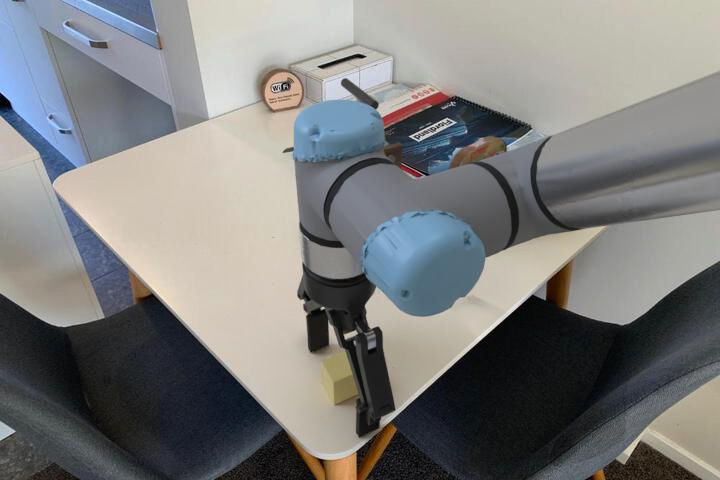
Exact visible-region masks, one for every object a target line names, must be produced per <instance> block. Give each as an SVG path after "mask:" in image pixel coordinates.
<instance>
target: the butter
mask: <svg viewBox="0 0 720 480" xmlns="http://www.w3.org/2000/svg"><path fill="white" fill-rule="evenodd" d="M320 375H321V385H322V386H323V388H324V390H325V392H326V393H327V395H328V397H329V399H330V400H331V402H332V404H333V405H334V406H336V405H337V404H340V403H342V402H344V401H347V400H349V399H351V398H354V397H355V396H359V394H358V390H357V387H356V384H355V381H354V377H353V374H352V371H351V368H350V364H349V361H348V358H347V355H346V352H345V350H344V351H341V352H338V353H336V354H334V355H331V356H328V357H326V358H324V359H321V360H320Z"/></svg>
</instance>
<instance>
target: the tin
mask: <svg viewBox="0 0 720 480" xmlns="http://www.w3.org/2000/svg"><path fill="white" fill-rule="evenodd" d="M507 151H508V148H507V142H506V141H505V139H504V138H499V137H497V136H494V135H488V136H485V137H483V138H481V139H478V140H477V141H475V142H473V143H471V144H468V145H467V146H465V147H463V148H461V149H460V150H458V151H457V152H456V153H455V155H454V156H453V157H452V159H451V161H450V163H449V166H448V170H449V169H452V168H456V167H459V166H463V165H465V164H469V163H472V162H477V161H480V160H483V159H486V158H489V157H492V156H495V155H498V154H501V153H504V152H507Z"/></svg>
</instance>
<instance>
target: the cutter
mask: <svg viewBox="0 0 720 480" xmlns="http://www.w3.org/2000/svg"><path fill="white" fill-rule="evenodd" d="M340 86H341V87H342V88H343V89H344V90H346V91H348V93H350V94H351V95H352V96H353V97H355V99H356V101H358V102H361V103H364V104H367V105H369V106H371V107H373V108H374V109H376V110H377V109H378V108H379V106H380V104H379V102H378V101H377V100H376V99H375V98H373V97H372V96H371V95H370V94H368V93H367V92H366V91H364V90H363V89H362V88H361V87H359V86H358V85H357V84H355V83H354V82H352V81H351V80H350V79H348V78H346V77H345V78H342V79H341V81H340ZM387 145H390V142H389V143H388V142H385V144H384V146H387Z"/></svg>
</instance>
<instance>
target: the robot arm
mask: <svg viewBox="0 0 720 480" xmlns="http://www.w3.org/2000/svg"><path fill="white" fill-rule="evenodd" d="M384 132H385V123H384V119H383V117H382V115H381V113H380V112H379V111H378V110H377V109H374V108H373V107H371V106H369V105H367V104H364V103H361V102H358V101H357V100H353V99H330V100H325V101H320V102H316V103H313V104H310V105H309V106H307V107H305V108H303V110H301V111H300V112H299V113H298V115H297V116H296V118H295V120H294V122H293V147H294V151H293V152H292V156H291V157H292V160H294V175H295V186H296V196H297V197H296V199H297V209H298V219H299V221H298V233H299V235H298V236H299V247H300V249H299V250H300V258H301V260H302V263H301V265H302V276H301V279H300V282H299V284H298V289H297V291H296V296H297V298H298V299H299V301H304V303H303V304H302V308H303V309H302V310H303V311H304V313H306V315H305V320H306V321H305V322H306V335H307V348H308V351H309V353H310V354H311V353H315V352H317V351H318V350H319V351H320V350H321V349H324V348H326V347H330V329H329V328H330V327H329V325H330V326H332V327H333V331H334V334H335V335H334V336H335V337H336V341H337V344H338V347H339V348H341V349H343V350H344V351H345V352H346V355H347V358H348V361H349V364H350V368H351V371H352V374H353V377H354V381H355V384H356V387H357V390H358V396H359V397H358V398H357V399H356V403H355V404H356V405H355V410H356V411H355V417H356V418H355V433H356V435H357V437H358V438H361V437H364V436H366V435H369V434H370V433H372V432H375V431H376V430H378V429H380V427H381V426H380V425H381V420H382V418H383V417H385V416H387V415H389V414H391V413H394V412H396V410H397V409H396V404H395V399H394V395H393V390H392V389H393V388H392V383H391V380H390V376H389V370H388V365H387V360H386V356H385V351H384V334H383V330H382V329H381V327H380V326H379V325H378V326H377V325H376V326H374V327H372V328H371V327H370V325H369V322H368V318H367V308H366V305H367V303H369V301H370V299H371V298H372V296H374V294H375V291H376V289H378V290H380V291H381V292H382V293H383V294H384V295H385V297H387V298H388V300H389V301H390V302H391V303H392V304H393V305H394V306H395V307H396V308H397V309H398V310H400V311H401V312H403V313H404V314H406V315H409V316H413V317H418V318H425V317H433V316H436V315H439V314H441V313H442V314H443V312H445V311H448V310H450V309H452V308H453V306H454V304H455V303H456V302H457V301H458V300H459V299H460V298H465V297H466V296H467V295H469V294H470V292H471V291H472V290H473V289H474V287H475V286H476V285H477V283H478V282H479V280H480V278H481V276H482V274H483V271H484V268H485V265H486V259H487V258H489V257H492V256H494V255H497V254H498V253H501V252H504V251H506V250H508V249H509V248H513V247H514V246H517V245H518V246H519V245H520V244H523V243H527V242H529V241H531V240H534V239H538V238H540V237H545V236H550V235H556V234H563V233H570V232H576V231H582V230H585V229H592V228H600V227H606V226H615V225H622V224H629V223H637V222H644V221H650V220H651V221H653V220H657V219H666V218H673V217H679V216H687V215H694V214H702V213H710V212H716V211H720V70H717V71H715V72H712V73H709V74H707V75H703V76H702V77H699V78H696V79H694V80H691V81H688V82H686V83H683V84H681V85H678V86H676V87H673V88H670V89H668V90H666V91H662V92H660V93H658V94H656V95H652V96H650V97H647V98H644V99H642V100H639V101H637V102H634V103H632V104H628V105H626V106H624V107H621V108H619V109H617V110H614V111H611V112H609V113H606V114H603V115H601V116H599V117H596V118H594V119H590V120H589V121H585V122H582V123H580V124H577V125H575V126H573V127H569V128H568V129H565V130H562V131H560V132H557V133H555V134H552V135H548V136H545V137H543V138H541V139H538V140H535V141H533V142H530V143H527V144H525V145H522V146H520V147H517V148H514V149H510V150H507V152H504V153H501V154H498V155H495V156H492V157H489V158H486V159H483V160H480V161H477V162H472V163H469V164H465V165H463V166H459V167H456V168H452V169H449V168H448V169H446V170H443V171H438V172H436V173H432V174H428V175H427V176H422V177H419V178H413V177H412V176H411V175H409V174H408V173H407V172H405V171H404V170H403V169H402V167H401V168H399V167H398V166H397V165H396V164H395V163H394V162H393V161H391V160H390V159H389V158H388V157H387V156H386V155H385V153H384V144H385V142H386V138H385V135H384ZM353 332H356V333H357V334H355V335H353V336H350V337H348V338H345V335H348V334H350V333H353Z"/></svg>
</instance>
